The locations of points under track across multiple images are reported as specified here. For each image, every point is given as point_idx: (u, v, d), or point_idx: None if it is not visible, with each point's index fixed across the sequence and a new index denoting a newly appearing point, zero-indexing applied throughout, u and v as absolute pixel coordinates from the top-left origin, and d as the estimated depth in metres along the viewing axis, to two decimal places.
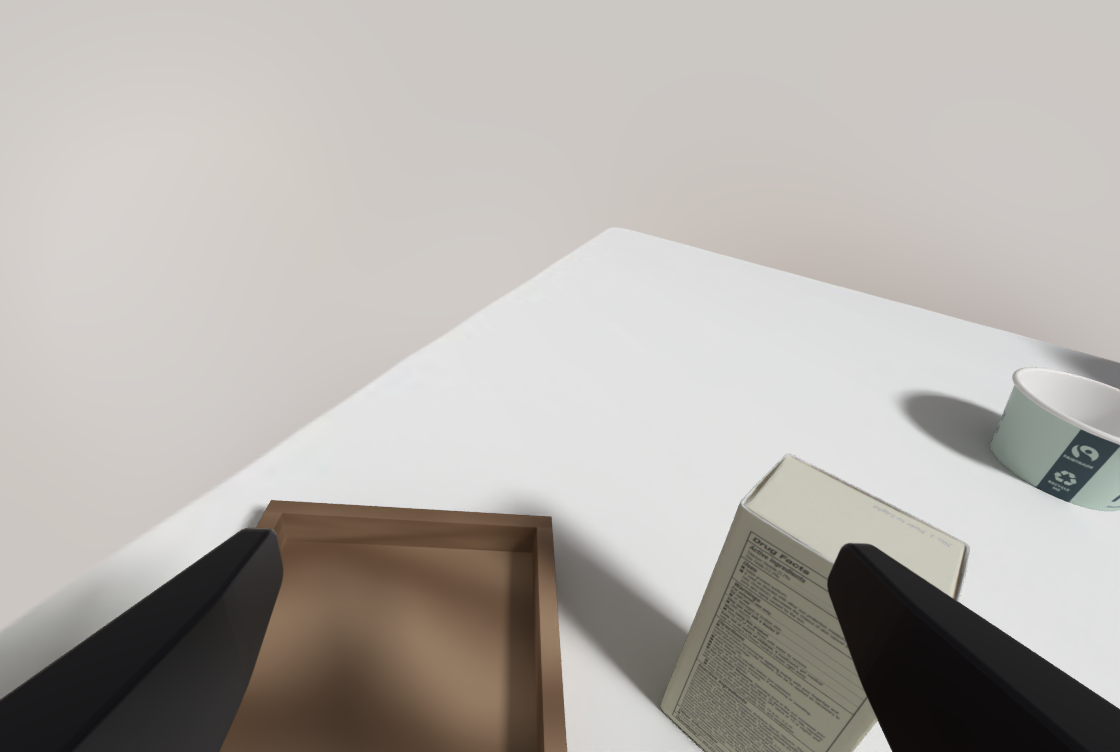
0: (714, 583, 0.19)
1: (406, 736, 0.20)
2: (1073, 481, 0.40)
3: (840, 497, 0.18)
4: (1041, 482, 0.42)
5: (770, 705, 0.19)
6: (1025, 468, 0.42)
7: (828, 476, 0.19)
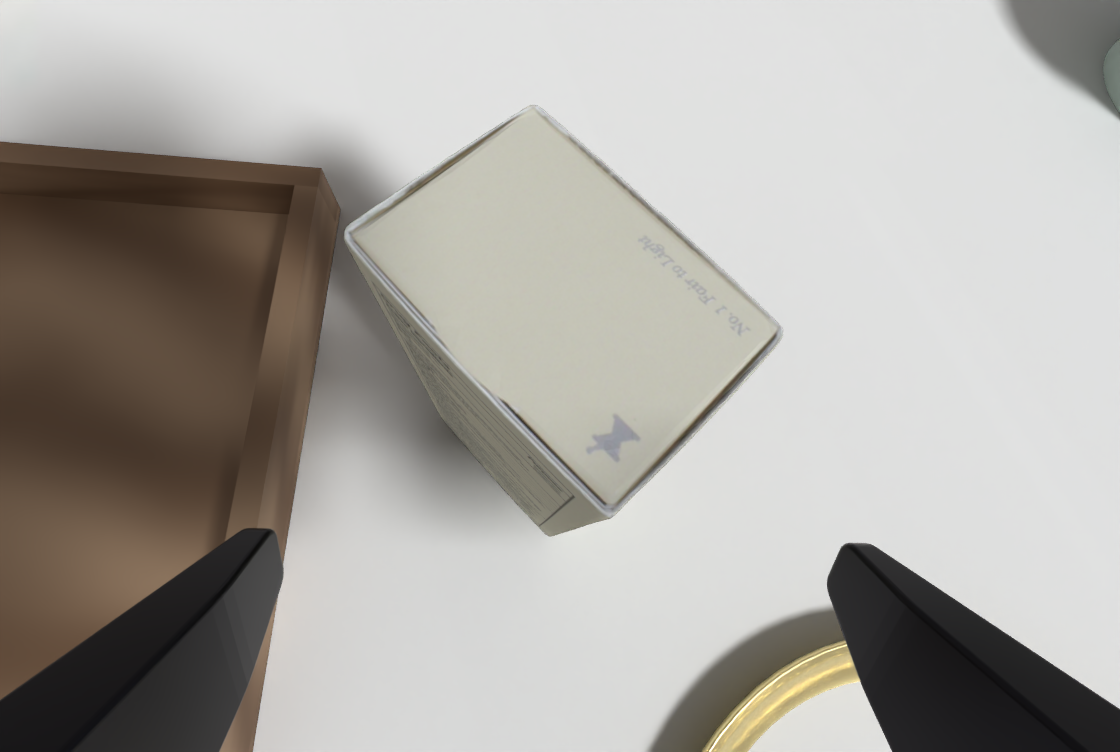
0: None
1: (113, 441, 0.18)
2: None
3: (578, 217, 0.09)
4: None
5: (496, 464, 0.14)
6: None
7: (590, 162, 0.09)
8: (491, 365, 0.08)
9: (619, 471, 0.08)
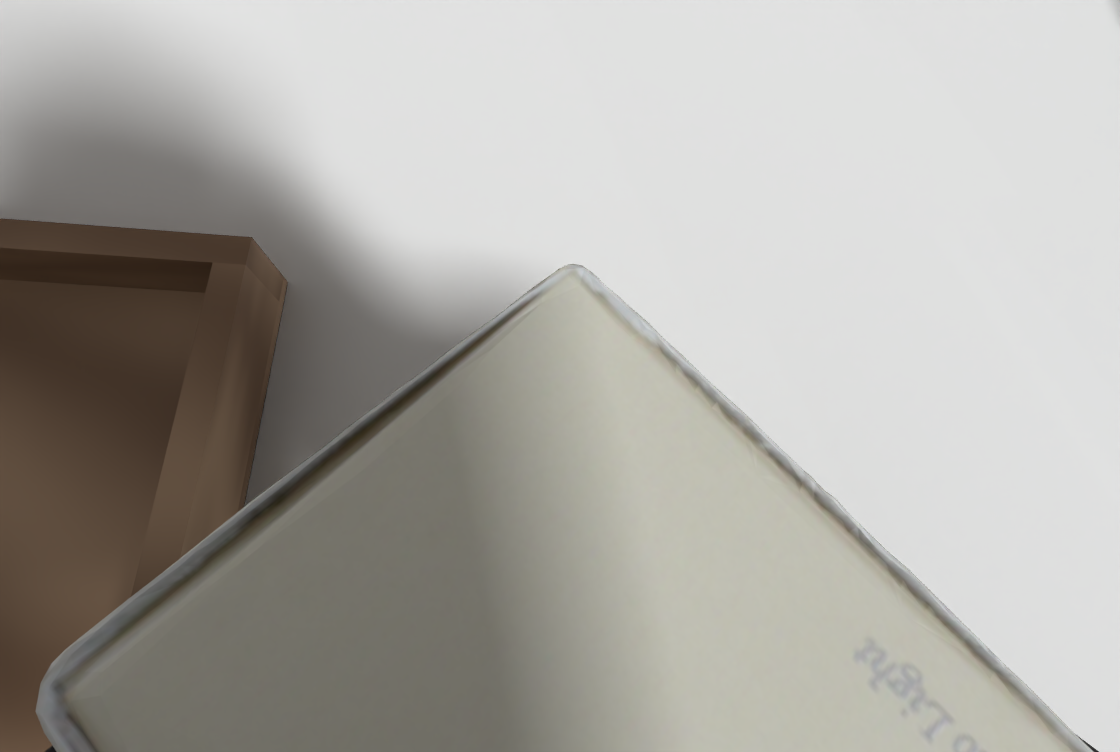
0: None
1: None
2: None
3: (694, 593, 0.03)
4: None
5: None
6: None
7: (711, 412, 0.04)
8: None
9: None
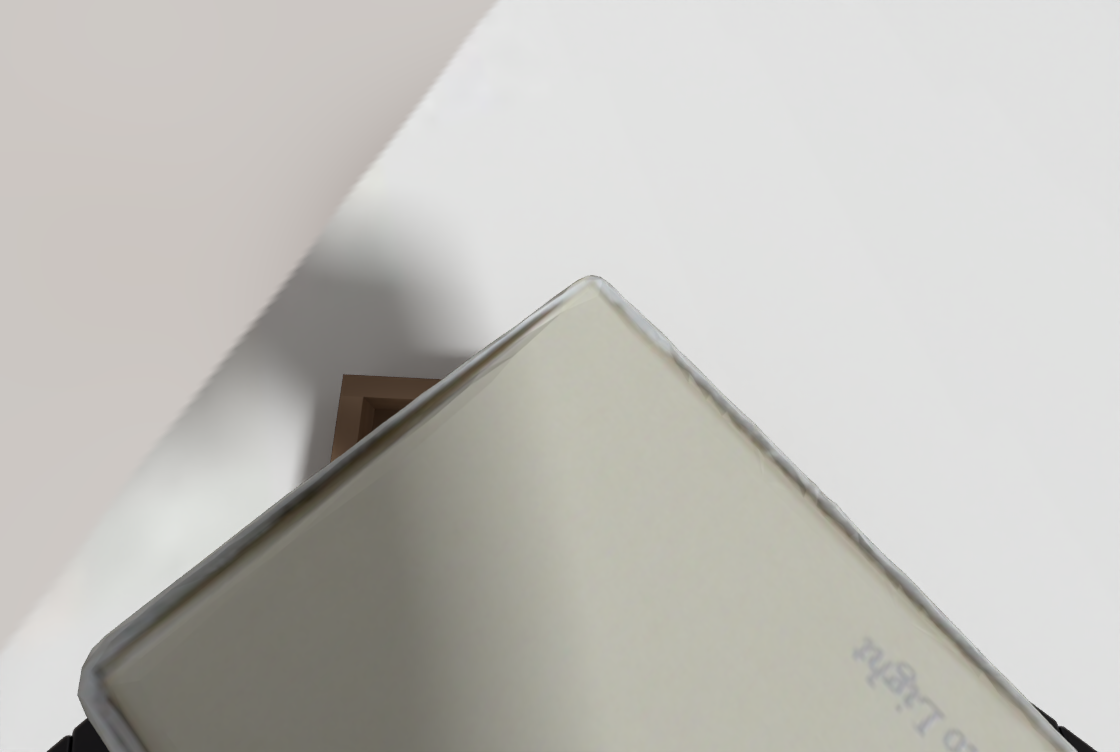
0: None
1: None
2: None
3: (705, 591, 0.04)
4: None
5: None
6: None
7: (723, 421, 0.04)
8: None
9: None
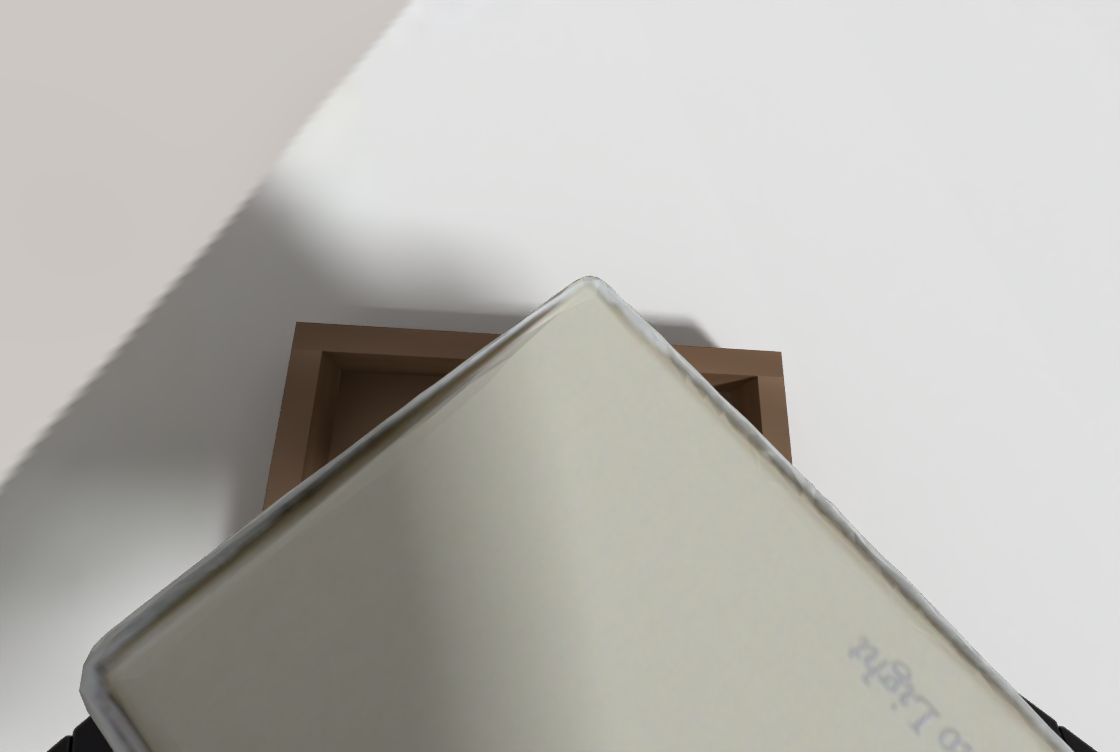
0: None
1: None
2: None
3: (701, 591, 0.04)
4: None
5: None
6: None
7: (718, 421, 0.04)
8: None
9: None
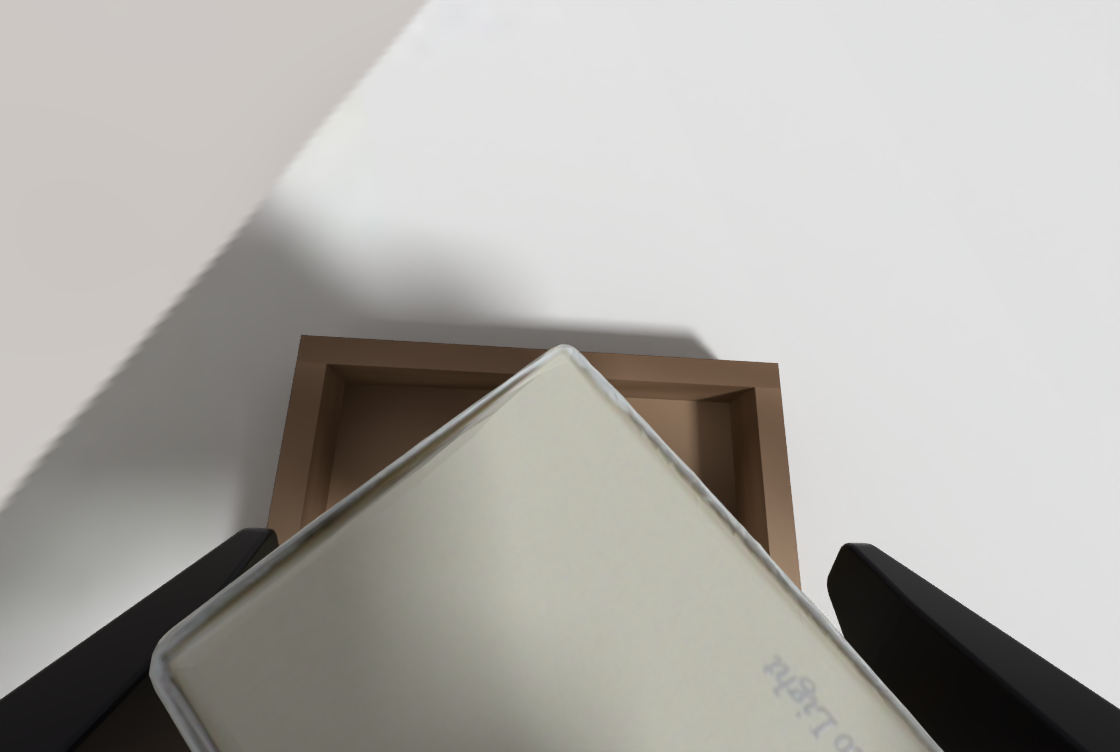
0: None
1: None
2: None
3: (642, 612, 0.04)
4: None
5: None
6: None
7: (667, 470, 0.05)
8: None
9: None
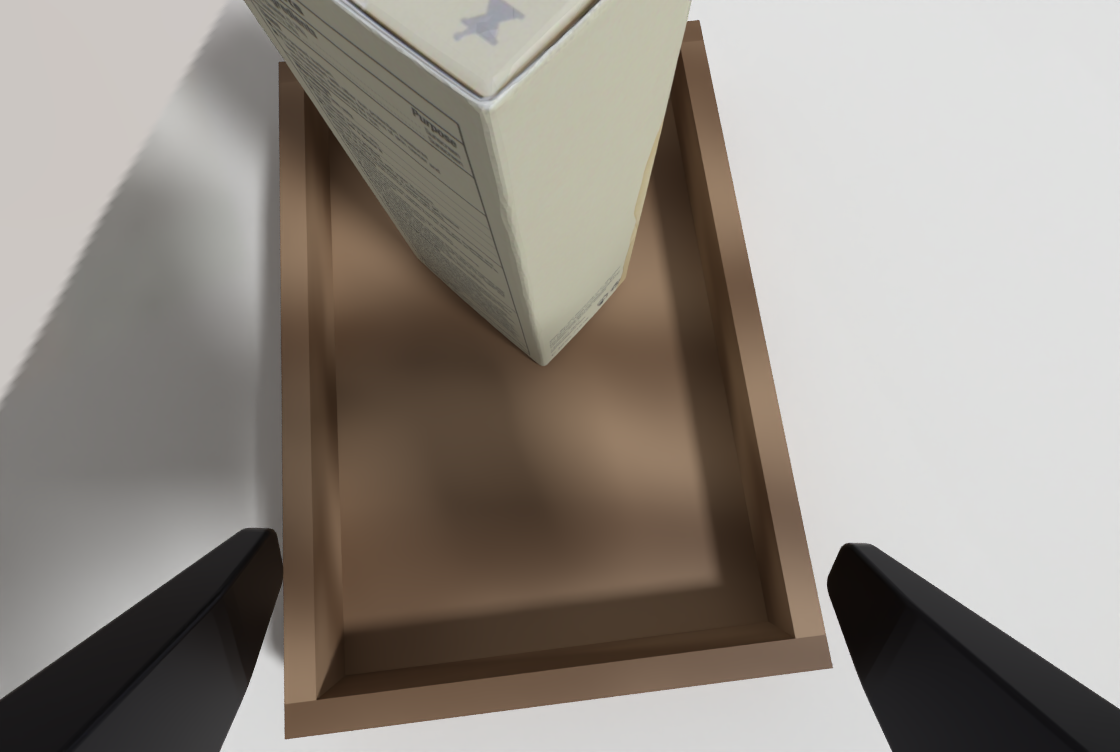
0: (290, 69, 0.10)
1: None
2: None
3: None
4: None
5: (452, 254, 0.13)
6: None
7: None
8: None
9: (496, 55, 0.06)
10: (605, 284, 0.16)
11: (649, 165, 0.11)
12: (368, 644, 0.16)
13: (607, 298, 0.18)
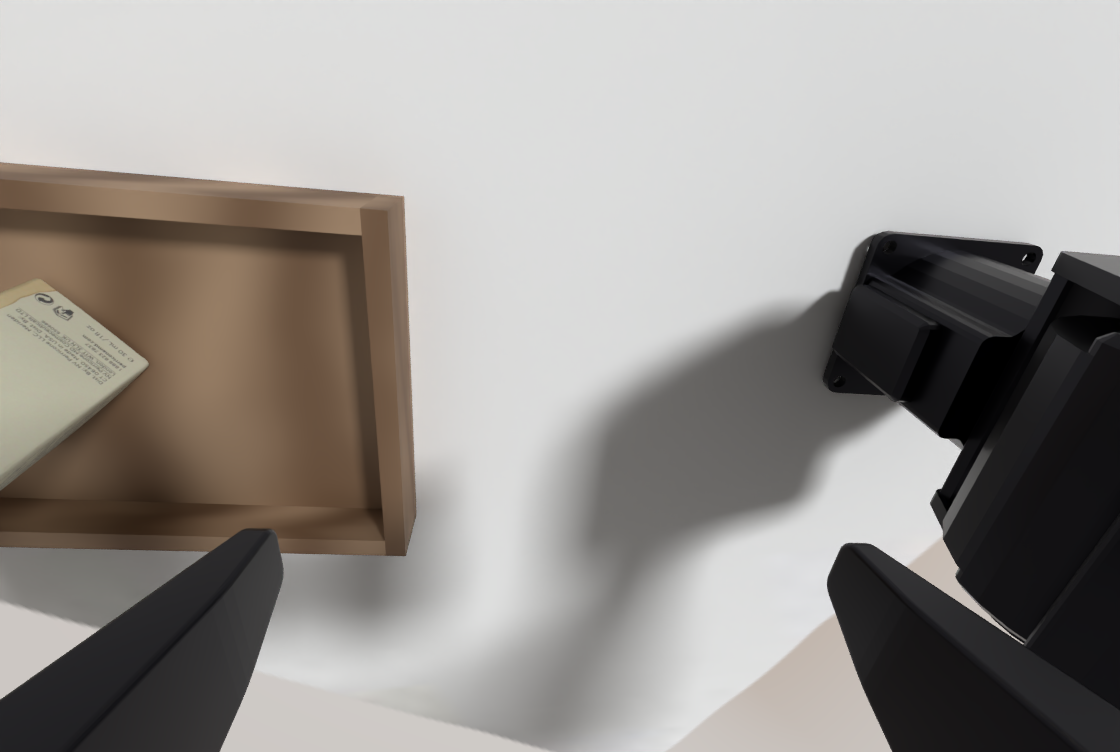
0: None
1: None
2: None
3: None
4: None
5: None
6: None
7: None
8: None
9: None
10: (32, 328, 0.17)
11: None
12: (376, 496, 0.23)
13: (65, 301, 0.18)
